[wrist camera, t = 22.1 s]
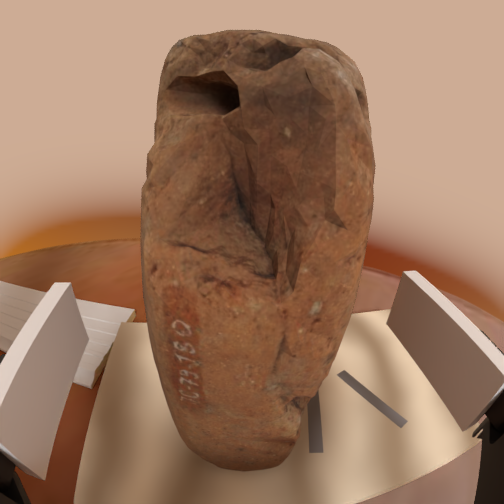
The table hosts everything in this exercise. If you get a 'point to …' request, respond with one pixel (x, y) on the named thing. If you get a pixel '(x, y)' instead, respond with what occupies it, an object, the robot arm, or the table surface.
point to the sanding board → (308, 444)
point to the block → (253, 235)
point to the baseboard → (93, 316)
